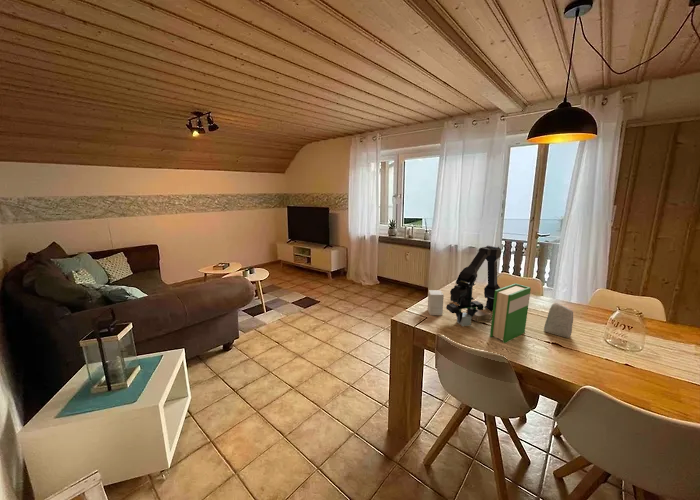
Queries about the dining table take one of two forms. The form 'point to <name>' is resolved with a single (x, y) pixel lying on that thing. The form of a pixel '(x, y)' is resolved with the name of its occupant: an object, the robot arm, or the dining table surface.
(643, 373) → the dining table surface
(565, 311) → the decorative stone
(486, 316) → the walnut block
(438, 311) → the supplement box
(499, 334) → the hardback book
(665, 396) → the dining table surface
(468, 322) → the slate cube
